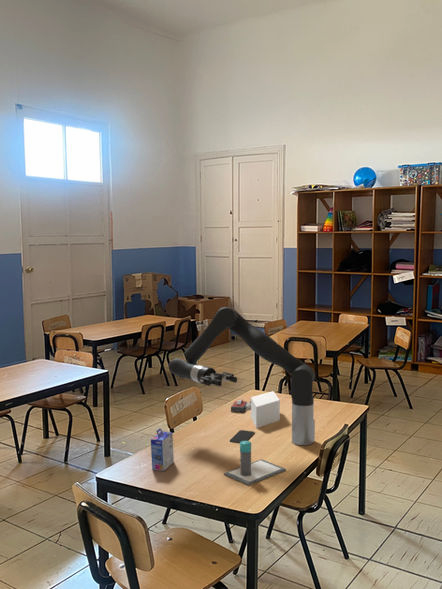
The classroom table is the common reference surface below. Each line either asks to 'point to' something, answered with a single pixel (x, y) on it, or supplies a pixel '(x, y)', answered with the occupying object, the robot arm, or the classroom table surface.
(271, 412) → the white box
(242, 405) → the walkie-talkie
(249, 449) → the marker
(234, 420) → the classroom table surface
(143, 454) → the classroom table surface
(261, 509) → the classroom table surface
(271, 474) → the mat
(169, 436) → the ink cartridge box
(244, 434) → the phone
